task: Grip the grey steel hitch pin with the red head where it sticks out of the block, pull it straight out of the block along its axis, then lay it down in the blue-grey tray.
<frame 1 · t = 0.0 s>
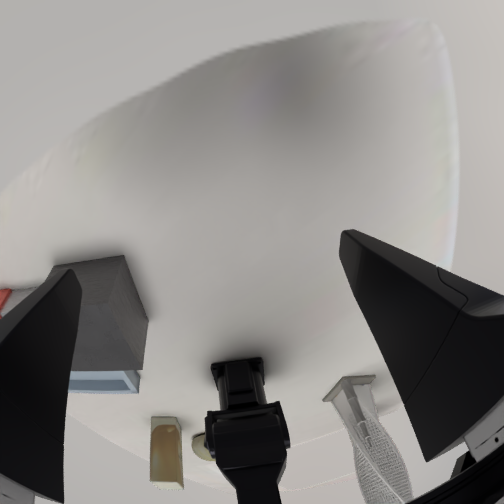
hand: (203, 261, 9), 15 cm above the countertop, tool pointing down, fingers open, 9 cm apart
pin: (52, 299, 27), on the countertop
block: (97, 295, 27), on the countertop
tray: (66, 358, 32), on the countertop
skyscraper: (350, 388, 45), on the countertop
skincare box: (166, 422, 44), on the countertop
sea urchin shell: (214, 436, 49), on the countertop
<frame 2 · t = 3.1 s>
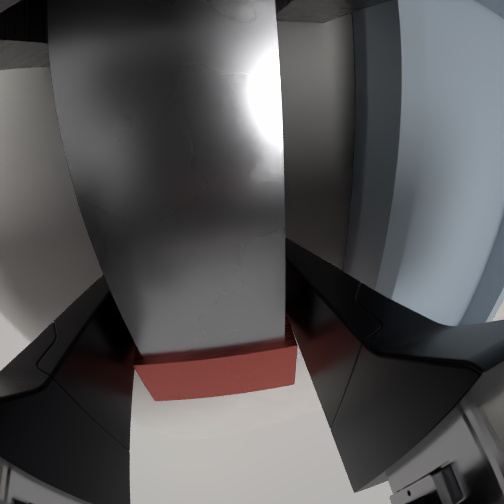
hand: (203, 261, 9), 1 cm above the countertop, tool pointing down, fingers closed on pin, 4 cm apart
pin: (183, 108, 8), on the countertop, touching gripper
tray: (447, 193, 10), on the countertop
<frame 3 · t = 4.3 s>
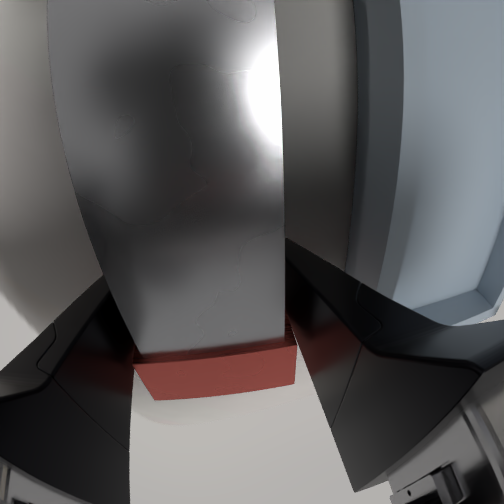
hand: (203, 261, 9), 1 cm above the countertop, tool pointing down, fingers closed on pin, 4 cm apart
pin: (183, 108, 8), on the countertop, touching gripper
tray: (458, 128, 9), on the countertop
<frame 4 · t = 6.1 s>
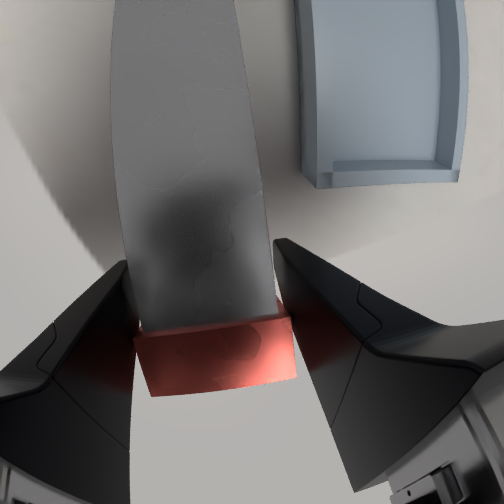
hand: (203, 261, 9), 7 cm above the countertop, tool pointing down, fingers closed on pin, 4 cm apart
pin: (192, 150, 11), point 4 cm above the countertop, tilted 25°, touching gripper
tray: (378, 17, 11), on the countertop
when the fingers open (8 cm above the countertop, at t = 7.8 s): pin drops 2 cm, resting on tray.
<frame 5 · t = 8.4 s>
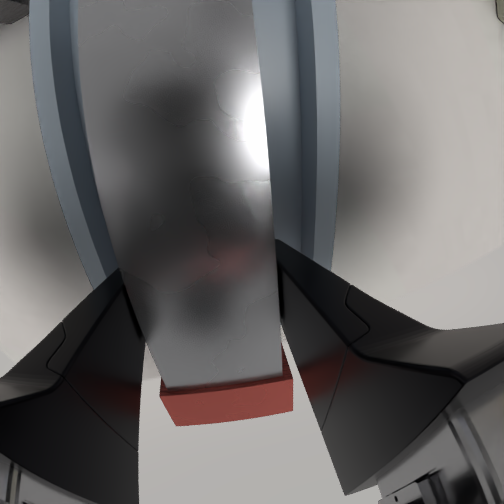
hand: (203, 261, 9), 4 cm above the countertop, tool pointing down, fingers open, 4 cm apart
pin: (195, 186, 10), point 2 cm above the countertop, tilted 7°, touching gripper, tray
tray: (188, 103, 10), on the countertop
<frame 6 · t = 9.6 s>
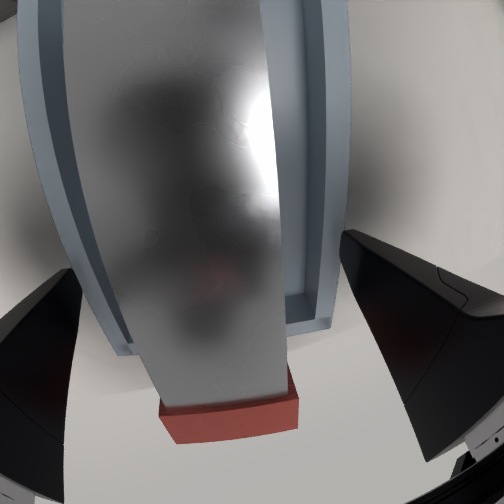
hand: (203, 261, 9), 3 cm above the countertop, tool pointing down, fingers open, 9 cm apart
pin: (194, 194, 9), point 2 cm above the countertop, tilted 7°, touching tray
tray: (187, 104, 9), on the countertop
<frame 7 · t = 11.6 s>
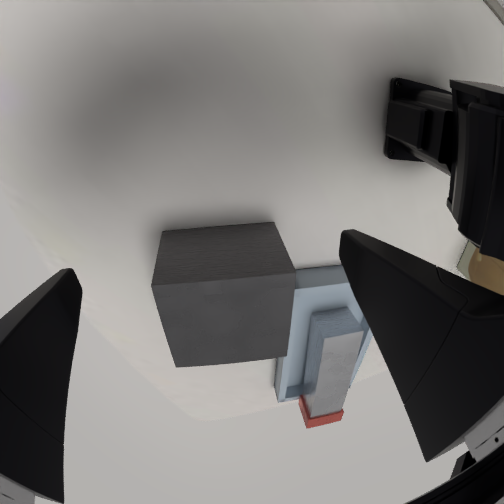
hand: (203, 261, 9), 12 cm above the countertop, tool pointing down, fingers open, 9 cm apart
pin: (322, 362, 31), point 2 cm above the countertop, tilted 7°, touching tray
block: (222, 274, 25), on the countertop
tray: (321, 335, 31), on the countertop
skincare box: (474, 252, 29), on the countertop
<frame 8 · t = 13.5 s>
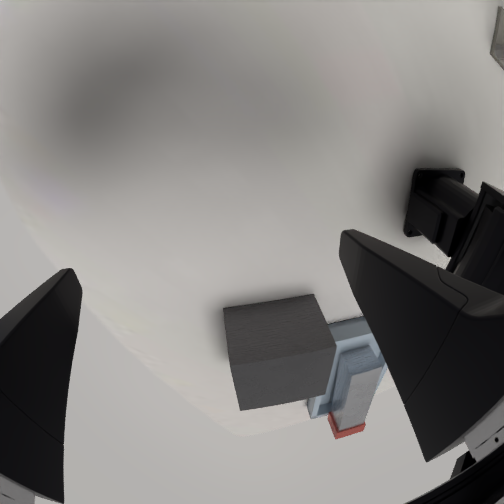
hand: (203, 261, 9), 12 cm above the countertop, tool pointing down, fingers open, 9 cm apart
pin: (347, 386, 36), point 2 cm above the countertop, tilted 7°, touching tray
block: (270, 333, 29), on the countertop
tray: (347, 365, 35), on the countertop
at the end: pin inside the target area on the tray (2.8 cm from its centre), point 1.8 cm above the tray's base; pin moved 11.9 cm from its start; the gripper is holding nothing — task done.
